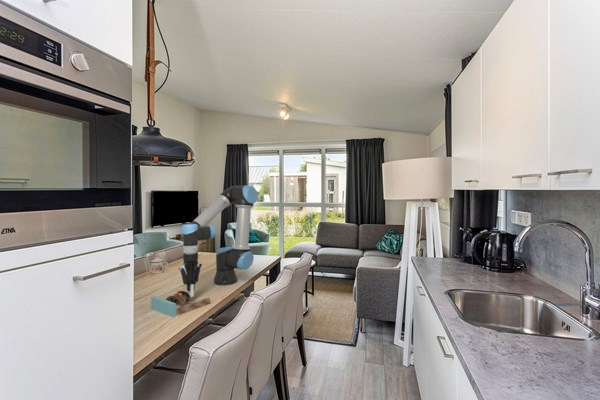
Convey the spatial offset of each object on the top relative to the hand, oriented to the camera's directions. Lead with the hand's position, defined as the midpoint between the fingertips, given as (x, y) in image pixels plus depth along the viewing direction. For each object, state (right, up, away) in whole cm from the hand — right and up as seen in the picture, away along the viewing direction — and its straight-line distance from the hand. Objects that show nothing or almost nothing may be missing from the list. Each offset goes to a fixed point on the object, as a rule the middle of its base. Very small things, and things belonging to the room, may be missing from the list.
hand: (190, 296), depth 164 cm
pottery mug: (-6, -4, -4) cm, 8 cm away
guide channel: (-3, -4, -4) cm, 6 cm away
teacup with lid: (-47, -3, +65) cm, 80 cm away
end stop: (-9, -4, -13) cm, 16 cm away
